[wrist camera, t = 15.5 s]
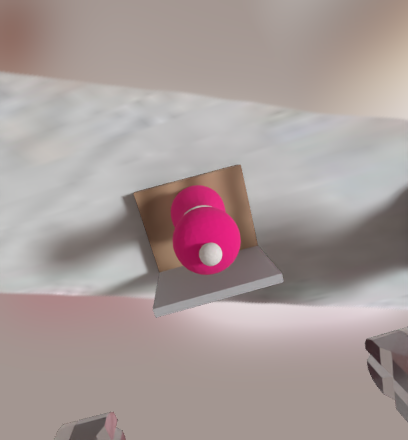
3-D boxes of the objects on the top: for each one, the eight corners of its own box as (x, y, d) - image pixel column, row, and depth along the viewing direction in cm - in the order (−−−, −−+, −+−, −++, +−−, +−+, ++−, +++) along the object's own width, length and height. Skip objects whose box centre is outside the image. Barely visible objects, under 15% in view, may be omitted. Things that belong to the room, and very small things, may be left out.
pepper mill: (183, 237, 39) (186, 317, 20) (163, 193, 37) (144, 234, 18) (227, 218, 39) (273, 280, 20) (209, 174, 37) (240, 193, 18)
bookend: (237, 164, 39) (261, 168, 27) (255, 247, 43) (283, 282, 31) (135, 191, 39) (116, 207, 27) (162, 273, 42) (155, 317, 31)
